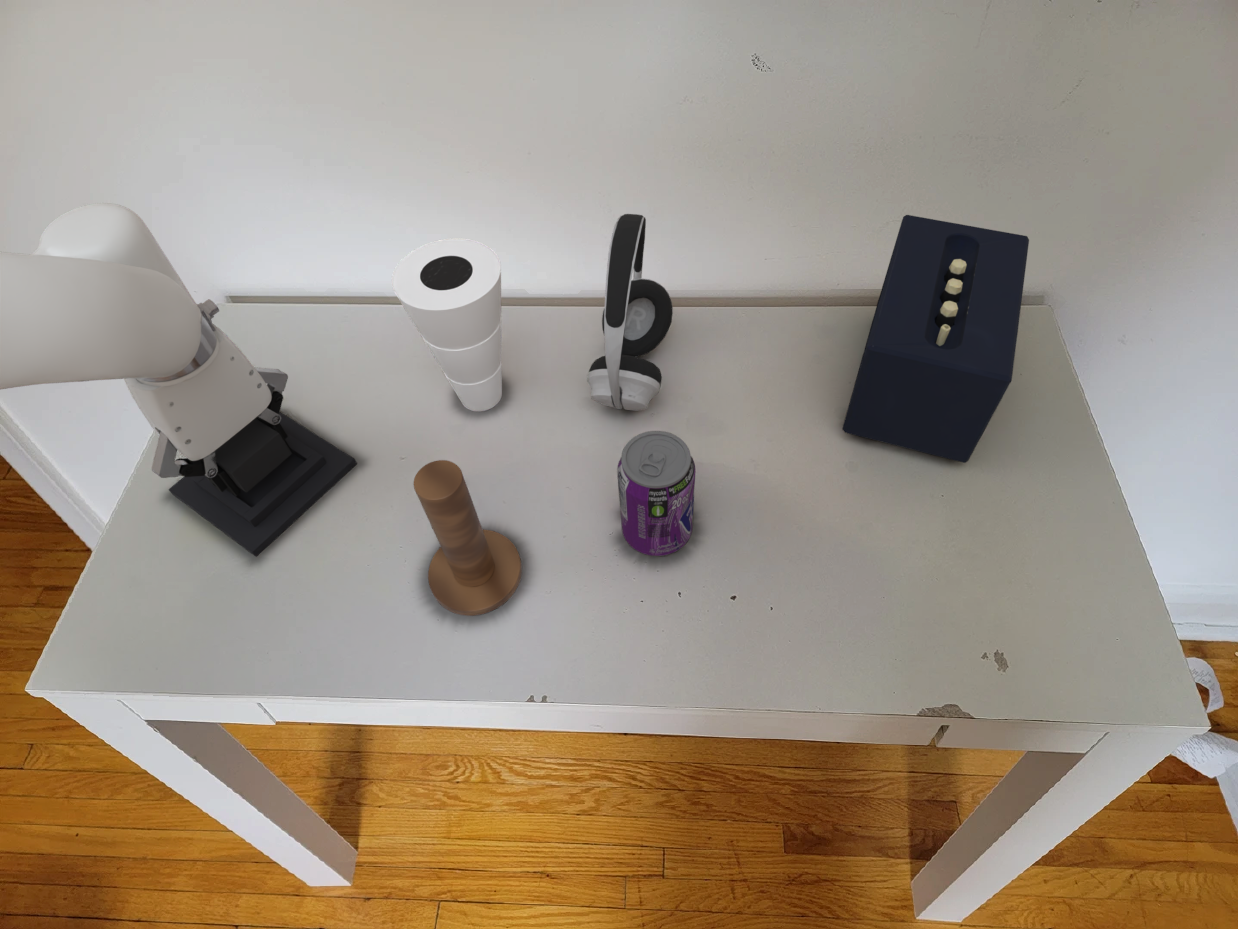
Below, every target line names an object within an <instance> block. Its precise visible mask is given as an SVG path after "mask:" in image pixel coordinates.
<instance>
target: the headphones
mask: <svg viewBox="0 0 1238 929" xmlns="http://www.w3.org/2000/svg"><path fill="white" fill-rule="evenodd" d="M646 224H647V219H646V217H645V216H643V214H636V213H624V214H622V215H619V217H618V218H617V219H616V221H615V223H614V226H613V229H612V233H611V237H610V242H609V247H608V254H607V263H606V264H607V267H606V273H605V290H604V291H605V292H604V307H603V310H602V315H601V329H602V330H601V331H602V333H603V336H604V352H605V353H604V356H603V355H602V356H600V357H599V358H597V359H595V360H594V361H593V362H592V364H591V365H590V368H589V370H588V372H587V375H586V376H587V379H586V382H587V383H588V385H589V388H590V398H591V399H592V400H593V401H595V402H597V403H599V404H601V405H603V406H606V407H610V408H614V409H616V410H619V411H620V410H622V409H624V410H625V411H643V410H647V409H648V406H649V403H650V402H651V400H653V398H654V397H655V396H657V395H658V394H659V392H660V389H661V386H662V380H663V379H662V378H663V375H662V372H661V369H660V367H658V366H657V365H656V364H655V363H654V362H652V361H650V360H648V359H646V358H642V356H644V355H647V354H649V353H650V352H652V351H653V350H654V349H656V348H657V347H658V346H659V345H660V344H661V343H662V341H663V340H664V339H665V337H666V336H667V334H668V332H669V329H670V327H671V325H672V322H673V314H674V312H673V310H674V309H673V308H674V306H673V302H672V299H671V296H670V294H669V292H668V290H667V289H666V288H665V287H664V286H663V285H661V283H659V282H657V281H655V280H653V279H650V278H643V265H644V264H643V263H644V252H645V251H644V250H645V242H646V227H647V226H646ZM632 278H633V279H632Z"/></svg>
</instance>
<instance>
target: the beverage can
mask: <svg viewBox="0 0 1238 929" xmlns="http://www.w3.org/2000/svg"><path fill="white" fill-rule="evenodd" d="M616 470H617V471H616V475H617V477H616V478H617V487H618V499H619V510H620V511H619V512H620V525H621V533H622V536H623V538H624V539H625V541H626V543H627V544H628V545H629V546H630V547H631V548H632V549H634V550H635V551H637V552H639V553H641V554H644V555H647V556H651V557H661V556H667V555H671V554H673V553H676V552H677V551H679V550H681V549H682V548H683V547H684V546H685V545H686V544H687V543H688V541H690V538H691V536H692V533H693V528H694V527H693V526H694V525H693V524H694V507H695V490H696V489H695V488H696V465H695V460H694V458H693V456H692V454H691V451H690V448H689V446H688V444H687V443H686V442H685V441H684V440H683V439H682V438H681V437H679V436H677V435H676V434H674V433H671V432H668V431H665V430H649V431H643V432H641V433H639V434H637V435H635V436H633V437H632V438H631V439H630V440H628V441H627V442H626V444H625V445H624V447H623V449H622V452H621V456H620V458H619V461H618V463H617V468H616Z"/></svg>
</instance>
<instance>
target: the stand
mask: <svg viewBox="0 0 1238 929" xmlns="http://www.w3.org/2000/svg"><path fill="white" fill-rule="evenodd" d="M413 489H414V491H415V493H416V496H417V499H418V500H419V502H420V504H421V507H422V509H423V511H424V513H425V516H426V518H427V520H428V522H429V524H430V526H431V528H432V530H433V533H434V535H435V537H436V540H437V541H438V544H439V546H440V547H439V548H438V549H437V550H436V552H435V553H434V555H433V556H432V558H431V560H430V563H429V567H428V571H427V579H428V586H429V589H430V591H431V593H432V595H433V597H434V599H435V600H436V601H437V603H438V604H439V605H440V606H441V607H443V608H444V609H445V610H447V611H449V612H451V613H453V614H456V615H460V616H467V617H469V616H470V617H471V616H472V617H473V616H481V615H484V614H488V613H490V612H493V611H494V610H496V609H498V608H500V607H501V606H503V605H504V604H505V603H506V602H507V601H509V600H510V598H511V597H512V596H514V594H515V592H516V591H517V589H518V587H519V585H520V582H521V579H522V575H523V574H522V573H523V565H522V560H521V557H520V553H519V551H518V549H517V547H516V546H515V544H514V543H513V542H512V541H511V540H510V539H509V538H508V537H507V536H505V535H503V534H501V533H500V532H498V531H494V530H490V529H483V527H482V524H481V522H480V519H479V516H478V514H477V510H476V507H475V505H474V502H473V499H472V496H471V493H470V491H469V488H468V486H467V482H466V480H465V477H464V474H463V471H462V469H461V467H460V466H459V465H458V464H456V463H455V462H453V461H450V460H445V459H438V460H433V461H431V462H428V463H425V465H423V466H422V467H420V468H419V470H418V471H417V472H416V474H415V476H414V478H413Z"/></svg>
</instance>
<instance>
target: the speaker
mask: <svg viewBox="0 0 1238 929" xmlns="http://www.w3.org/2000/svg"><path fill="white" fill-rule="evenodd" d="M1029 244H1030V239H1029V236H1027V235H1023V234H1018V233H1012V232H1007V231H1001V230H995V229H990V228H984V227H978V226H973V225H967V224H961V223H955V222H950V221H945V220H938V219H933V218H927V217H923V216H922V217H921V216H918V215H917V216H916V215H911V214H905V215H904V216H903V217H902V219H901V223H900V226H899V229H898V233H897V237H896V239H895V243H894V247H893V249H892V253H891V256H890V259H889V262H888V266H887V270H886V273H885V277H884V280H883V282H882V287H881V290H880V293H879V297H878V300H877V304H876V307H875V311H874V314H873V318H872V321H871V325H870V328H869V332H868V336H867V339H866V343H865V346H864V350H863V354H862V357H861V361H860V363H859V368H858V371H857V375H856V378H855V382H854V385H853V388H852V392H851V396H850V400H849V404H848V406H847V410H846V414H845V417H844V421H843V424H842V431H843V432H844V433H845V434H849V435H854V436H857V437H861V438H865V439H869V440H873V441H876V442H881V443H885V444H889V445H893V446H897V447H900V448H904V449H908V450H912V451H916V452H920V453H925V454H928V455H932V456H936V457H941V458H944V459H948V460H952V461H956V462H960V463H964V464H967V462H969V460H970V458H971V457H972V455H973V453H974V451H975V450H976V447H977V445H978V443H979V442H980V440H981V438H982V436H983V434H984V432H985V430H987V427H988V426H989V423H990V421H991V419H992V418H993V416H994V414H995V412H996V410H997V409H998V406H999V404H1001V401H1002V399H1003V397H1004V396H1005V393H1006V392H1007V390H1008V388H1009V386H1010V384H1011V382H1012V381H1013V380H1012V379H1013V374H1014V373H1013V372H1014V364H1015V356H1016V348H1017V342H1018V341H1017V340H1018V333H1019V325H1020V316H1021V310H1022V302H1023V301H1022V299H1023V293H1024V292H1023V291H1024V284H1025V277H1026V276H1025V275H1026V268H1027V259H1028V252H1029Z"/></svg>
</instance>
